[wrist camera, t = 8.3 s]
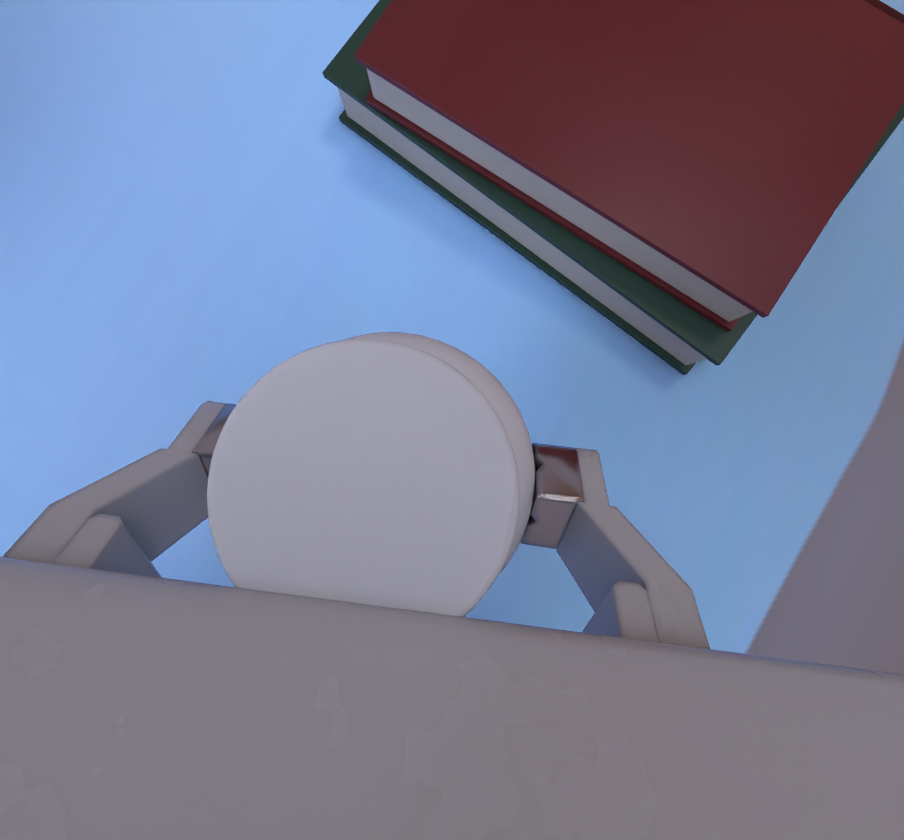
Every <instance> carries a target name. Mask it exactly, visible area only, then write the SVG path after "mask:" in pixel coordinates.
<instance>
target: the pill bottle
mask: <svg viewBox="0 0 904 840" xmlns="http://www.w3.org/2000/svg"><path fill="white" fill-rule="evenodd" d="M534 489H535V464H534V455H533V450H532V445H531V441H530V437H529V433H528V431H527V428H526V425H525V422H524V420H523V418H522V416H521V413H520V411H519V409H518V407H517V406H516V404H515V403H514V401H513V399H512V398H511V396H510V395H509V393H508V392H507V391H506V389H505V388H504V387H503V385H502V384H501V383H500V382H499V381H498V379H497V378H496V377H495V376H494V375H493V374H492V373H491V372H490V371H488V370H487V369H486V368H485V367H484V366H483V365H481V364H480V363H479V362H478V361H476V360H475V359H473V358H472V357H470V356H469V355H467V354H466V353H464V352H462V351H460V350H459V349H457V348H455V347H453V346H450V345H448V344H446V343H443V342H441V341H438V340H435V339H431V338H428V337H425V336H421V335H416V334H408V333H400V332H385V333H372V334H365V335H360V336H356V337H352V338H348V339H345V340H342V341H337V342H331V343H327V344H324V345H320V346H317V347H314V348H311V349H308V350H306V351H303V352H301V353H299V354H297V355H295V356H293V357H291V358H289V359H287V360H285V361H284V362H282V363H280V364H279V365H277V366H276V367H274V368H273V369H271V370H270V371H269V372H268V373H267V374H265V375H264V376H263V377H262V378H261V379H259V380H258V381H257V382H256V383H255V384H254V385H253V386H252V387H251V388H250V390H249V391H248V392H247V393H246V394H245V395H244V396H243V397H242V399H241V400H240V401H239V402H238V404H237V405H236V406H235V408H234V409H233V411H232V412H231V414H230V416H229V417H228V419H227V421H226V423H225V425H224V427H223V429H222V431H221V433H220V436H219V438H218V441H217V444H216V446H215V449H214V452H213V456H212V460H211V464H210V470H209V477H208V486H207V508H208V518H209V526H210V531H211V535H212V538H213V542H214V545H215V548H216V551H217V554H218V556H219V558H220V561H221V563H222V565H223V567H224V569H225V571H226V573H227V575H228V577H229V579H230V580H231V582H232V583H233V585H234V586H235V588H243V589H251V590H258V591H266V592H274V593H281V594H289V595H297V596H305V597H312V598H320V599H328V600H335V601H343V602H351V603H358V604H366V605H373V606H381V607H389V608H396V609H404V610H412V611H420V612H427V613H435V614H443V615H450V616H458V617H464V616H465V615H466V614H467V613H468V612H469V611H470V610H471V609H472V608H474V606H475V605H476V604H477V603H478V602H479V601H480V599H481V598H482V597H483V596H484V595H485V594H486V592H487V591H488V590H489V588H490V587H491V585H492V584H493V582H494V581H495V579H496V578H497V576H498V574H499V573H500V572H501V571H502V570H503V569H504V567H505V566H506V565H507V563H508V562H509V560H510V559H511V557H512V556H513V554H514V552H515V551H516V549H517V547H518V545H519V543H520V541H521V539H522V537H523V534H524V532H525V529H526V526H527V523H528V520H529V516H530V513H531V508H532V503H533V498H534Z"/></svg>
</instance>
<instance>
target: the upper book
mask: <svg viewBox="0 0 904 840" xmlns="http://www.w3.org/2000/svg"><path fill="white" fill-rule="evenodd" d="M354 58H355V61H356V62H357V63H359V64H361V65H362V66H364V67H365V68H367V72H368V76H369V81H370V85H371V91H370V92H369V94H368V95H367V97H366V103H367V104H369V105H370V106H372V107H374V108H375V109H377V110H378V111H380V112H382V113H383V114H385V115H386V116H388V117H389V118H391V119H393V120H394V121H396V122H397V123H399V124H401V125H402V126H404V127H405V128H407V129H408V130H410V131H412V132H413V133H415V134H416V135H418V136H419V137H421V138H423V139H424V140H426V141H427V142H429V143H431V144H432V145H434V146H435V147H437V148H438V149H440V150H442V151H443V152H445V153H446V154H448V155H450V156H451V157H453V158H454V159H456V160H457V161H459V162H461V163H462V164H464V165H465V166H467V167H469V168H470V169H472V170H473V171H475V172H476V173H478V174H480V175H481V176H483V177H484V178H486V179H488V180H489V181H491V182H492V183H494V184H495V185H497V186H499V187H500V188H502V189H503V190H505V191H507V192H508V193H510V194H511V195H513V196H514V197H516V198H518V199H519V200H521V201H522V202H524V203H526V204H527V205H529V206H530V207H532V208H533V209H535V210H537V211H538V212H540V213H541V214H543V215H544V216H546V217H548V218H549V219H551V220H552V221H554V222H556V223H557V224H559V225H560V226H562V227H563V228H565V229H567V230H568V231H570V232H571V233H573V234H575V235H576V236H578V237H579V238H581V239H582V240H584V241H586V242H587V243H589V244H590V245H592V246H594V247H595V248H597V249H598V250H600V251H601V252H603V253H605V254H606V255H608V256H609V257H611V258H613V259H614V260H616V261H617V262H619V263H620V264H622V265H624V266H625V267H627V268H628V269H630V270H632V271H633V272H635V273H636V274H638V275H639V276H641V277H643V278H644V279H646V280H647V281H649V282H651V283H652V284H654V285H655V286H657V287H658V288H660V289H662V290H663V291H665V292H666V293H668V294H669V295H671V296H673V297H674V298H676V299H677V300H679V301H681V302H682V303H684V304H685V305H687V306H688V307H690V308H692V309H693V310H695V311H696V312H698V313H700V314H701V315H703V316H704V317H706V318H707V319H709V320H711V321H712V322H714V323H715V324H717V325H719V326H720V327H722V328H723V329H725V330H726V331H731V330H733V328H734V326H735V325H736V323H737V322H738V320H739V319H740V317H742V316H744V315H746V314H748V313H751V312H755V313H756V314H758V315H760V316H761V317H763V318H764V317H766V316H768V315H769V313H770V312H771V310H772V309H773V307H774V305H775V304H776V302H777V301H778V299H779V298H780V296H781V294H782V293H783V291H784V290H785V288H786V287H787V285H788V283H789V282H790V280H791V279H792V277H793V276H794V274H795V272H796V271H797V269H798V268H799V266H800V265H801V263H802V261H803V260H804V258H805V257H806V255H807V254H808V252H809V250H810V249H811V247H812V246H813V244H814V243H815V241H816V239H817V238H818V236H819V235H820V233H821V232H822V230H823V228H824V227H825V225H826V224H827V222H828V221H829V219H830V217H831V216H832V214H833V213H834V211H835V210H836V208H837V206H838V205H839V203H840V202H841V200H842V199H843V197H844V195H845V194H846V192H847V191H848V189H849V188H850V186H851V184H852V183H853V181H854V180H855V178H856V177H857V175H858V173H859V172H860V170H861V169H862V167H863V166H864V164H865V162H866V161H867V159H868V158H869V156H870V155H871V153H872V151H873V150H874V148H875V147H876V145H877V144H878V142H879V140H880V139H881V137H882V136H883V134H884V133H885V131H886V129H887V128H888V126H889V125H890V123H891V121H892V120H893V118H894V117H895V115H896V114H897V112H898V110H899V109H900V107H901V106H902V104H903V103H904V15H903V14H901V13H900V12H898V11H896V10H895V9H893V8H891V7H890V6H888V5H886V4H885V3H883V2H881V1H880V0H391V2H390V3H389V5H388V6H387V8H386V9H385V11H384V12H383V13H382V15H381V16H380V18H379V19H378V21H377V22H376V24H375V25H374V27H373V28H372V30H371V31H370V33H369V34H368V35H367V37H366V38H365V40H364V41H363V43H362V44H361V46H360V47H359V49H358V50H357V52H356V53H355V55H354Z"/></svg>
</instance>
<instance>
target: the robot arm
mask: <svg viewBox="0 0 904 840" xmlns="http://www.w3.org/2000/svg"><path fill="white" fill-rule="evenodd" d="M235 406H236V405H235V404H226V403H219V402H213V401H207V402H205V403H203V404H201V405H200V407H199V408H198V409H197V411H196V412H195V413H194V415H193V416H192V417H191V419H190V420H189V421H188V423H187V424H186V425H185V427H184V428H183V429H182V430H181V432H180V433H179V434H178V436H177V437H176V438H175V440H174V441H173V442H172V444H171V445H170V446H169V448H168V449H159V450H157V451H155V452H153V453H151V454H149V455H147V456H145V457H143V458H141V459H139V460H137V461H135V462H133V463H131V464H129V465H127V466H125V467H123V468H121V469H120V470H118V471H116V472H114V473H112V474H110V475H108V476H106V477H104V478H102V479H100V480H98V481H96V482H94V483H92V484H90V485H88V486H86V487H84V488H82V489H80V490H78V491H76V492H74V493H72V494H70V495H68V496H66V497H64V498H62V499H60V500H58V501H56V502H54V503H52V504H50V505H49V506H48V507H47V508H46V509H45V510H44V511H43V513H42V514H41V515H40V516H39V517H38V518H37V519H36V520H35V521H34V522H33V524H32V525H31V526H30V527H29V528H28V529H27V530H26V531H25V532H24V534H23V535H22V536H21V537H20V538H19V539H18V540H17V541H16V542H15V543H14V545H13V546H12V547H11V548H10V549H9V550H8V551H7V552H6V553H5V554H4V556H3V557H0V840H904V675H903V674H896V673H888V672H881V671H873V670H865V669H857V668H850V667H842V666H834V665H827V664H819V663H811V662H803V661H795V660H788V659H780V658H773V657H765V656H758V655H750V654H742V653H735V652H727V651H719V650H712V649H710V647H709V644H708V641H707V637H706V634H705V631H704V628H703V624H702V621H701V618H700V614H699V611H698V608H697V605H696V601H695V598H694V595H693V591H692V589H691V588H690V587H689V586H688V584H687V583H686V582H685V581H684V580H683V579H682V578H681V577H680V576H679V575H678V574H677V573H676V571H675V570H674V569H673V568H672V567H671V566H670V565H669V564H668V563H667V562H666V561H665V560H664V558H663V557H662V556H661V555H660V554H659V553H658V552H657V551H656V550H655V549H654V548H653V547H652V545H651V544H650V543H649V542H648V541H647V540H646V539H645V538H644V537H643V536H642V535H641V534H640V532H639V531H638V530H637V529H636V528H635V527H634V526H633V525H632V524H631V523H630V522H629V521H628V519H627V518H626V517H625V516H624V515H623V514H622V513H621V512H620V511H619V510H618V509H617V508H616V507H613V506H609V501H608V496H607V491H606V486H605V481H604V476H603V471H602V466H601V461H600V456H599V453H598V452H597V450H590V449H581V448H572V447H564V446H555V445H547V444H538V443H533V444H532V450H533V455H534V464H535V489H534V498H533V503H532V508H531V513H530V516H529V520H528V523H527V526H526V529H525V532H524V534H523V537H522V539H521V544H527V545H534V546H540V547H547V548H553V549H557V552H558V554H559V556H560V557H561V559H562V560H563V562H564V564H565V565H566V567H567V568H568V570H569V572H570V573H571V575H572V576H573V578H574V580H575V581H576V583H577V584H578V586H579V588H580V589H581V591H582V592H583V594H584V596H585V597H586V599H587V600H588V602H589V604H590V605H591V607H592V608H593V610H594V612H595V614H594V615H593V617H592V618H591V620H590V621H589V623H588V624H587V626H586V627H585V628H584V630H583V631H582V633H581V632H574V631H566V630H558V629H551V628H543V627H535V626H528V625H520V624H512V623H505V622H497V621H489V620H482V619H474V618H466V617H458V616H450V615H443V614H435V613H427V612H420V611H412V610H404V609H396V608H389V607H381V606H373V605H366V604H358V603H351V602H343V601H335V600H328V599H320V598H312V597H305V596H297V595H289V594H281V593H274V592H266V591H258V590H251V589H243V588H235V587H228V586H220V585H212V584H205V583H197V582H190V581H182V580H174V579H167V578H162V577H161V576H160V574H159V573H158V571H157V570H156V568H155V567H154V566H153V564H152V563H151V561H152V560H154V559H155V558H156V557H158V556H159V555H160V554H161V553H163V552H164V551H165V550H167V549H168V548H169V547H170V546H172V545H173V544H174V543H176V542H177V541H178V540H179V539H181V538H182V537H183V536H185V535H186V534H187V533H188V532H190V531H191V530H192V529H193V528H195V527H196V526H197V525H199V524H200V523H201V522H202V521H204V520H205V519H206V518H208V508H207V486H208V477H209V470H210V464H211V460H212V456H213V452H214V449H215V446H216V444H217V441H218V438H219V436H220V433H221V431H222V429H223V427H224V425H225V423H226V421H227V419H228V417H229V416H230V414H231V412H232V411H233V409H234V408H235Z"/></svg>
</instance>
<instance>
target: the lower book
mask: <svg viewBox="0 0 904 840" xmlns="http://www.w3.org/2000/svg"><path fill="white" fill-rule="evenodd" d="M390 2H391V0H380V1H379V2H378V3H377V4H376V6H375V7H374V8H373V9H372V11H371V12H370V13H369V14H368V16H367V17H366V18H365V20H364V21H363V22H362V23H361V25H360V26H359V27H358V28H357V30H356V31H355V32H354V33H353V35H352V36H351V37H350V38H349V40H348V41H347V42H346V44H345V45H344V46H343V47H342V49H341V50H340V51H339V52H338V54H337V55H336V56H335V57H334V59H333V60H332V61H331V63H330V64H329V65H328V66H327V68H326V69H325V70H324V71H323V75H324V77H325V78H326V79H327V80H329V81H330V82H331V83H333V84H334V85H335V86H337V87H338V90H339V93H340V96H341V99H342V102H343V105H344V108H345V110H344V111H343V113H342V114H341V115H340V116H339V119H340V121H341V122H342V123H344V124H345V125H347V126H348V127H349V128H351V129H352V130H353V131H355V132H356V133H357V134H359V135H360V136H361V137H363V138H364V139H365V140H367V141H368V142H370V143H371V144H372V145H374V146H375V147H376V148H378V149H379V150H380V151H382V152H383V153H384V154H386V155H387V156H388V157H390V158H391V159H393V160H394V161H395V162H397V163H398V164H399V165H401V166H402V167H403V168H405V169H406V170H407V171H409V172H410V173H412V174H413V175H414V176H416V177H417V178H418V179H420V180H421V181H422V182H424V183H425V184H426V185H428V186H429V187H430V188H432V189H433V190H435V191H436V192H437V193H439V194H440V195H441V196H443V197H444V198H445V199H447V200H448V201H449V202H451V203H452V204H454V205H455V206H456V207H458V208H459V209H460V210H462V211H463V212H464V213H466V214H467V215H468V216H470V217H471V218H472V219H474V220H475V221H477V222H478V223H479V224H481V225H482V226H483V227H485V228H486V229H487V230H489V231H490V232H491V233H493V234H494V235H495V236H497V237H498V238H500V239H501V240H502V241H504V242H505V243H506V244H508V245H509V246H510V247H512V248H513V249H514V250H516V251H517V252H519V253H520V254H521V255H523V256H524V257H525V258H527V259H528V260H529V261H531V262H532V263H533V264H535V265H536V266H537V267H539V268H540V269H542V270H543V271H544V272H546V273H547V274H548V275H550V276H551V277H552V278H554V279H555V280H556V281H558V282H559V283H560V284H562V285H563V286H565V287H566V288H567V289H569V290H570V291H571V292H573V293H574V294H575V295H577V296H578V297H579V298H581V299H582V300H584V301H585V302H586V303H588V304H589V305H590V306H592V307H593V308H594V309H596V310H597V311H598V312H600V313H601V314H602V315H604V316H605V317H607V318H608V319H609V320H611V321H612V322H613V323H615V324H616V325H617V326H619V327H620V328H621V329H623V330H624V331H625V332H627V333H628V334H630V335H631V336H632V337H634V338H635V339H636V340H638V341H639V342H640V343H642V344H643V345H644V346H646V347H647V348H649V349H650V350H651V351H653V352H654V353H655V354H657V355H658V356H659V357H661V358H662V359H663V360H665V361H666V362H667V363H669V364H670V365H672V366H673V367H674V368H676V369H677V370H678V371H680V372H681V373H682V374H684V375H686V374H688V372H689V371H690V370H691V368H692V367H693V366H694V364H695V363H696V362H698V361H701V360H704V359H708V360H709V361H711V362H712V363H714V364H715V365H716V366H717V365H720V364H721V363H722V361H723V360H724V359H725V357H726V356H727V355H728V353H729V352H730V351H731V349H732V348H733V347H734V345H735V344H736V343H737V341H738V340H739V339H740V337H741V336H742V335H743V333H744V332H745V330H746V329H747V328H748V326H749V325H750V324H751V322H752V321H753V320H754V318H755V317H756V316H757V314H756V313H755V312H751V313H748V314H746V315H744V316H742V317H740V319H739V320H738V322H737V323H736V325H735V326H734V328H733V330H731V331H726V330H725V329H723V328H722V327H720V326H719V325H717V324H715V323H714V322H712V321H711V320H709V319H707V318H706V317H704V316H703V315H701V314H700V313H698V312H696V311H695V310H693V309H692V308H690V307H688V306H687V305H685V304H684V303H682V302H681V301H679V300H677V299H676V298H674V297H673V296H671V295H669V294H668V293H666V292H665V291H663V290H662V289H660V288H658V287H657V286H655V285H654V284H652V283H651V282H649V281H647V280H646V279H644V278H643V277H641V276H639V275H638V274H636V273H635V272H633V271H632V270H630V269H628V268H627V267H625V266H624V265H622V264H620V263H619V262H617V261H616V260H614V259H613V258H611V257H609V256H608V255H606V254H605V253H603V252H601V251H600V250H598V249H597V248H595V247H594V246H592V245H590V244H589V243H587V242H586V241H584V240H582V239H581V238H579V237H578V236H576V235H575V234H573V233H571V232H570V231H568V230H567V229H565V228H563V227H562V226H560V225H559V224H557V223H556V222H554V221H552V220H551V219H549V218H548V217H546V216H544V215H543V214H541V213H540V212H538V211H537V210H535V209H533V208H532V207H530V206H529V205H527V204H526V203H524V202H522V201H521V200H519V199H518V198H516V197H514V196H513V195H511V194H510V193H508V192H507V191H505V190H503V189H502V188H500V187H499V186H497V185H495V184H494V183H492V182H491V181H489V180H488V179H486V178H484V177H483V176H481V175H480V174H478V173H476V172H475V171H473V170H472V169H470V168H469V167H467V166H465V165H464V164H462V163H461V162H459V161H457V160H456V159H454V158H453V157H451V156H450V155H448V154H446V153H445V152H443V151H442V150H440V149H438V148H437V147H435V146H434V145H432V144H431V143H429V142H427V141H426V140H424V139H423V138H421V137H419V136H418V135H416V134H415V133H413V132H412V131H410V130H408V129H407V128H405V127H404V126H402V125H401V124H399V123H397V122H396V121H394V120H393V119H391V118H389V117H388V116H386V115H385V114H383V113H382V112H380V111H378V110H377V109H375V108H374V107H372V106H370V105H369V104H367V103H366V97H367V95H368V94H369V92H370V91H371V85H370V81H369V76H368V72H367V68H365V67H364V66H362V65H361V64H359V63H357V62H356V61H355V58H354V55H355V53H356V52H357V50H358V49H359V47H360V46H361V44H362V43H363V41H364V40H365V38H366V37H367V35H368V34H369V33H370V31H371V30H372V28H373V27H374V25H375V24H376V22H377V21H378V19H379V18H380V16H381V15H382V13H383V12H384V11H385V9H386V8H387V6H388V5H389V3H390ZM903 118H904V103H903V104H902V106H901V107H900V109H899V110H898V112H897V114H896V115H895V117H894V118H893V120H892V121H891V123H890V125H889V126H888V128H887V129H886V131H885V133H884V134H883V136H882V137H881V139H880V140H879V142H878V144H877V145H876V147H875V148H874V150H873V151H872V153H871V155H870V156H869V158H868V159H867V161H866V162H865V164H864V166H863V167H862V169H861V170H860V172H859V173H858V175H857V177H856V178H855V180H854V181H853V183H852V184H851V186H850V188H849V189H848V191H847V192H846V194H845V195H844V197H845V196H846V195H847V193H848V192H849V191H850V189H851V188H852V186H853V185H854V184H855V182H856V181H857V180H858V178H859V177H860V176H861V174H862V173H863V172H864V170H865V169H866V168H867V166H868V165H869V164H870V162H871V161H872V160H873V158H874V157H875V156H876V154H877V153H878V151H879V150H880V149H881V147H882V146H883V145H884V143H885V142H886V141H887V139H888V138H889V137H890V135H891V134H892V133H893V131H894V130H895V129H896V127H897V126H898V125H899V123H900V122H901V121H902V119H903ZM844 197H843V199H844ZM843 199H842V200H843ZM842 200H841V201H842ZM840 203H841V202H840ZM840 203H839V204H840ZM837 207H838V206H837Z"/></svg>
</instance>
